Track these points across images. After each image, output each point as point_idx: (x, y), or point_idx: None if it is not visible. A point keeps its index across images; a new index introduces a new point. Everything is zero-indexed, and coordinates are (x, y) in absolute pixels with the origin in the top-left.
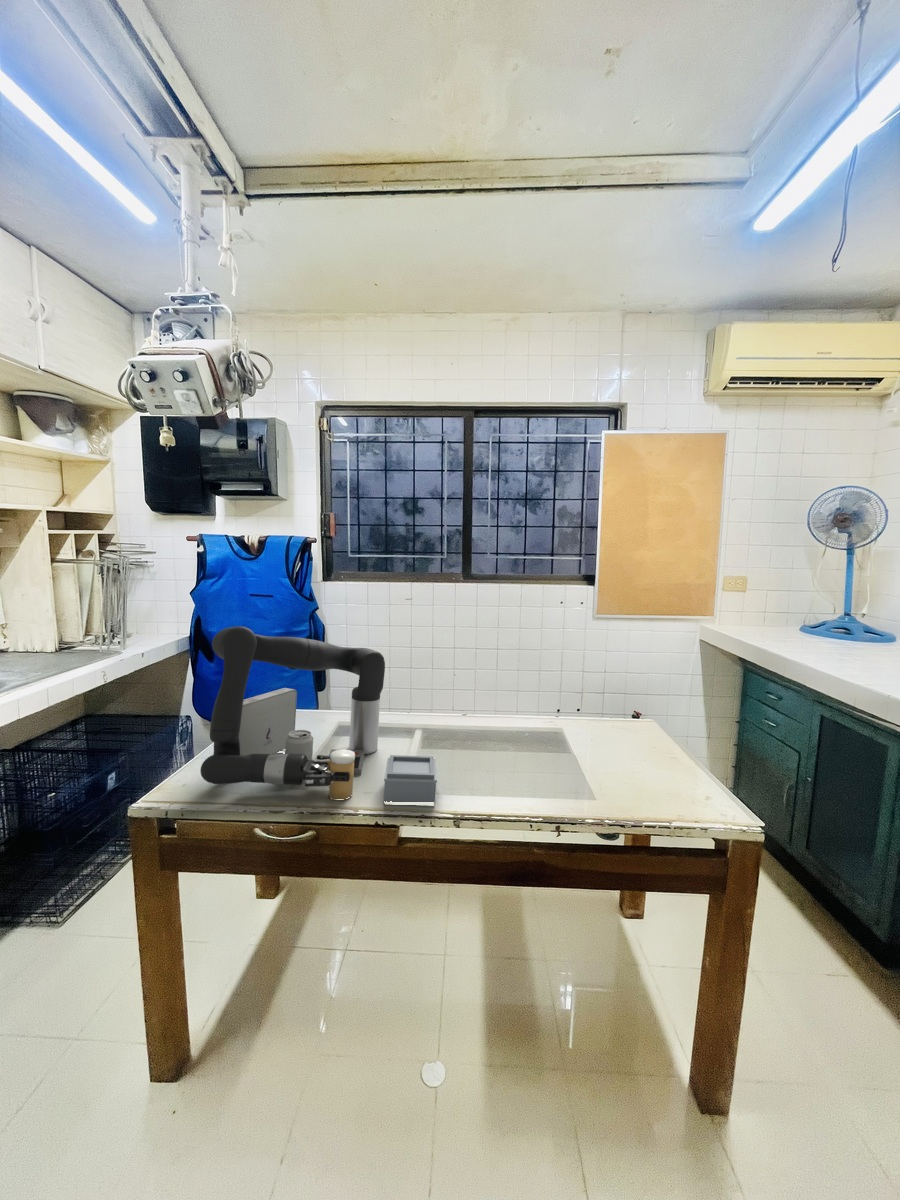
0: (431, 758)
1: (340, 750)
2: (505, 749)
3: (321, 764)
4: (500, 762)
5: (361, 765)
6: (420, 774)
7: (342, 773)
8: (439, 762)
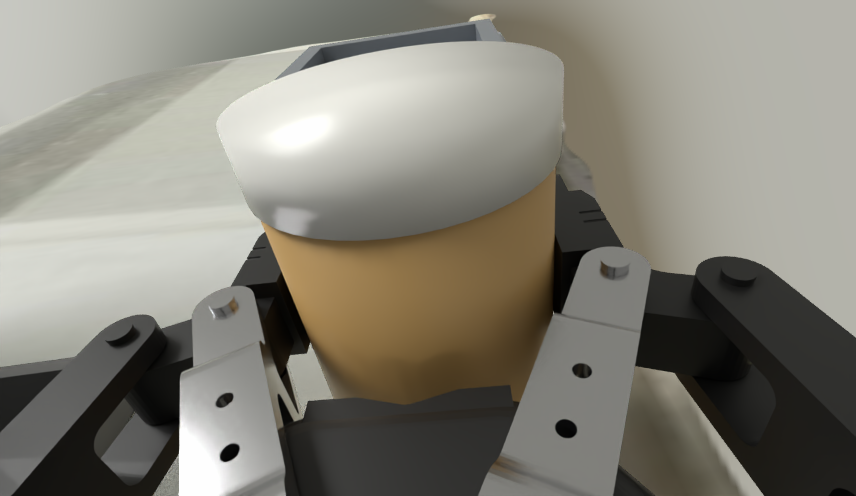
0: (328, 45)
1: (245, 119)
2: (163, 102)
3: (325, 479)
4: (235, 98)
5: (56, 360)
6: (494, 28)
7: (572, 206)
8: (170, 167)
